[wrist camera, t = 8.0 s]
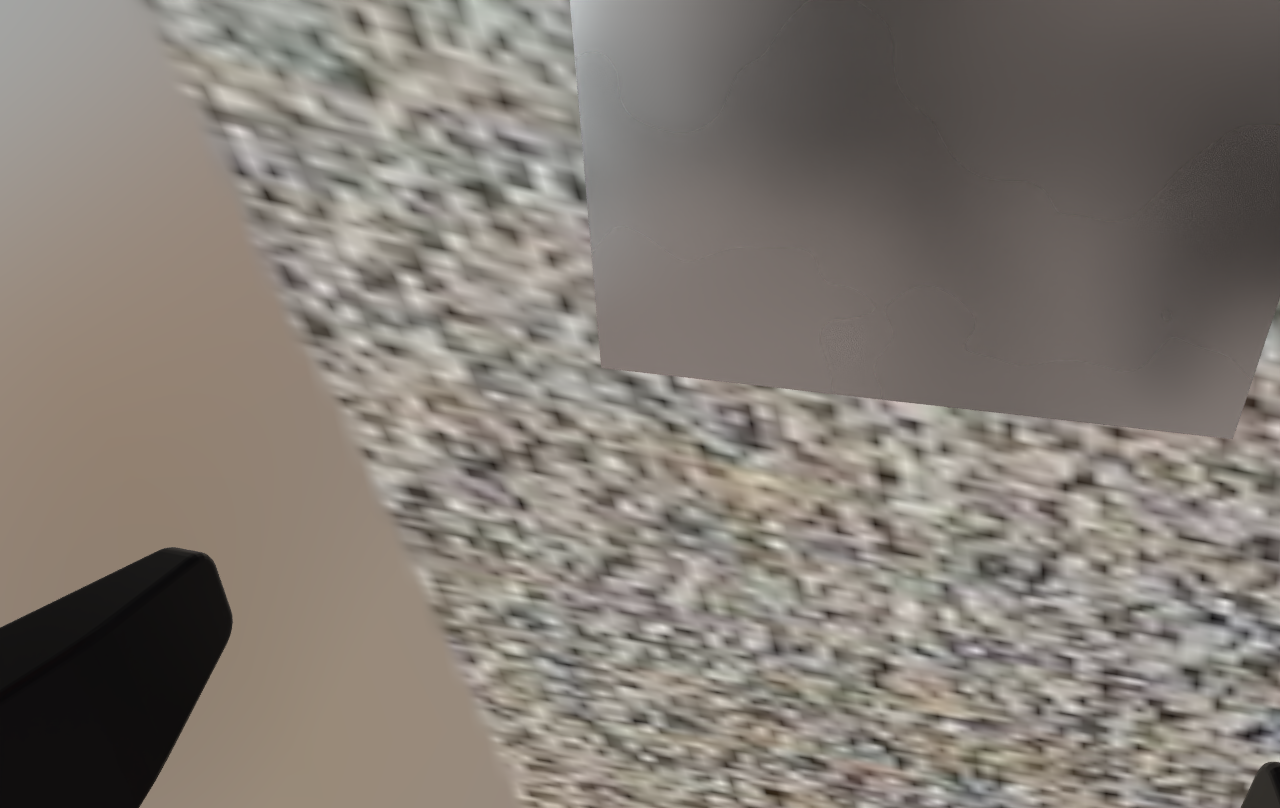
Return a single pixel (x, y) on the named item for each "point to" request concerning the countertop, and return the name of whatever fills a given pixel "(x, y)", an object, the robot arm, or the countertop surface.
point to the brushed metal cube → (939, 199)
